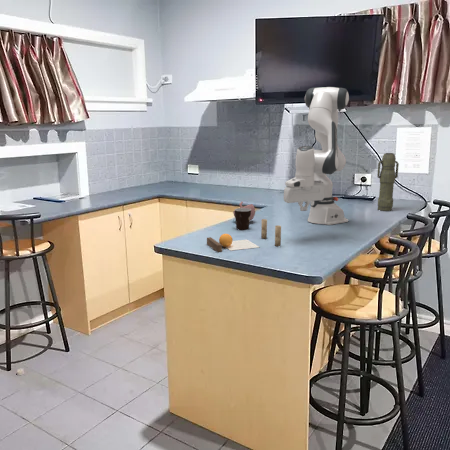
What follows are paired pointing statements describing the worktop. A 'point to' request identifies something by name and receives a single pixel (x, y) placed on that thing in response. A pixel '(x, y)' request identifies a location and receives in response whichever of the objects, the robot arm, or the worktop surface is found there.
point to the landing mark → (241, 245)
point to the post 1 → (264, 229)
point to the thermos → (387, 181)
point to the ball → (225, 240)
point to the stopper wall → (214, 244)
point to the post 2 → (277, 235)
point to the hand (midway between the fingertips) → (303, 210)
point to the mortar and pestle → (248, 208)
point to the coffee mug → (242, 218)
